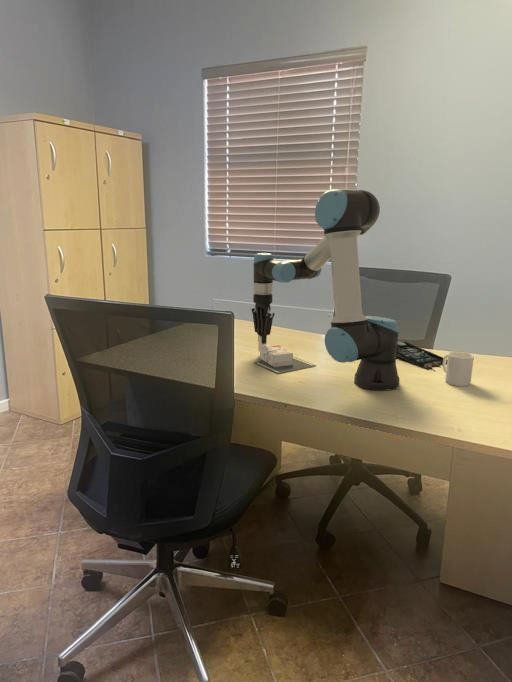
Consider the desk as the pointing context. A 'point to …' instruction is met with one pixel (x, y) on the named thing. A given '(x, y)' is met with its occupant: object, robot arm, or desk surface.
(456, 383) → the cup
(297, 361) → the mat
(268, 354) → the ink box
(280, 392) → the desk surface
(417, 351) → the building model
